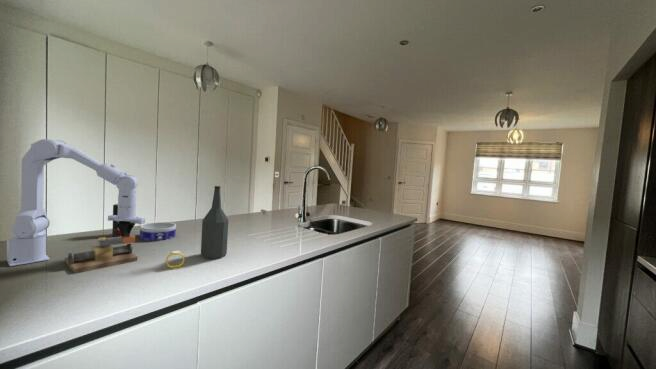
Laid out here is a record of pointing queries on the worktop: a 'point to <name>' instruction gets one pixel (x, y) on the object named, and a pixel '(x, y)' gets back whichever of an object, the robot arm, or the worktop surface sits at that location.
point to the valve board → (101, 262)
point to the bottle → (214, 230)
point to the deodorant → (115, 230)
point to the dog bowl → (157, 231)
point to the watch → (174, 254)
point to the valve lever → (115, 240)
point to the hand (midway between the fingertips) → (125, 240)
